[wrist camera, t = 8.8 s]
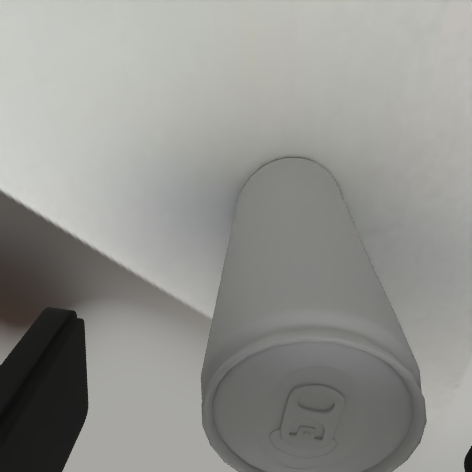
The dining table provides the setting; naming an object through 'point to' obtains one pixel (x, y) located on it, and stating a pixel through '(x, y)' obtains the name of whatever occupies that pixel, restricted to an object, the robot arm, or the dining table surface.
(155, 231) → the dining table surface
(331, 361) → the beverage can
